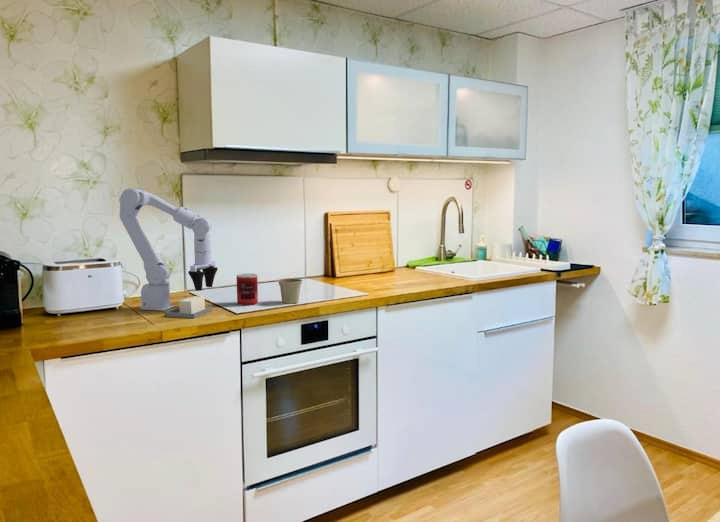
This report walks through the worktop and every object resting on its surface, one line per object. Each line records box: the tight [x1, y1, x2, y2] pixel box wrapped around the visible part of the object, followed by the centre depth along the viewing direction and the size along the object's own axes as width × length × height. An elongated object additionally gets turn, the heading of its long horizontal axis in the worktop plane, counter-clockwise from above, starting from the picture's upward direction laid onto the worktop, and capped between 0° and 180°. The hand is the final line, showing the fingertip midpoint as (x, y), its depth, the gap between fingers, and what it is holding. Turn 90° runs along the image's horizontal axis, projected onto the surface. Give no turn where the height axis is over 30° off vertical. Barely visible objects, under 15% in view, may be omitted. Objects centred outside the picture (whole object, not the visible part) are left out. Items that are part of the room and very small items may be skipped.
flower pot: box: [277, 278, 303, 305], centre depth 213 cm, size 9×9×9 cm
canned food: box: [236, 273, 259, 306], centre depth 210 cm, size 8×8×11 cm
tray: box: [164, 306, 213, 319], centre depth 193 cm, size 11×12×2 cm
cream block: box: [178, 295, 206, 314], centre depth 195 cm, size 4×4×9 cm
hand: (204, 288), depth 203 cm, fingers open, 7 cm apart
